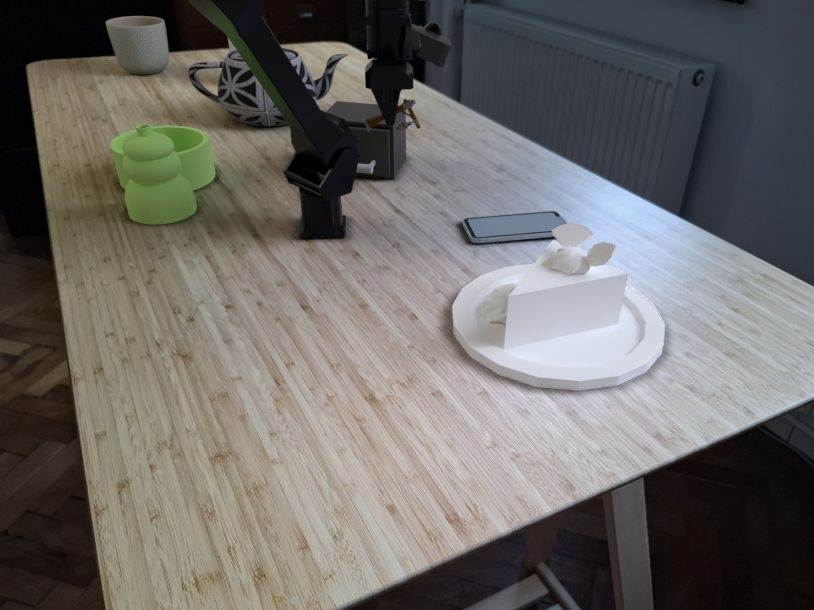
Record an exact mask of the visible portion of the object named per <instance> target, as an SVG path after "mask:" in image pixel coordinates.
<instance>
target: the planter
mask: <svg viewBox="0 0 814 610" xmlns="http://www.w3.org/2000/svg"><path fill="white" fill-rule="evenodd" d="M105 27H106V31H107V34H108V37H109V41H110V43H111V47H112V49H113V52H114V55H115V57H116V60H117V63H118V64H119V65H120V67H122V69H123V70H125V71H126V72H128V73H130V74H133V75H141V76H142V75H145V76H146V75H154V74H158V73H160V72H162V71H164V70H165V69H166V68H167V66H168V65H169V63H170V52H169V42H168V34H167V28H166V22H165V19H163V18H161V17H156V16H149V15H147V16H146V15H132V16H131V15H130V16H120V17H119V16H118V17H114V18H109V19H108V20H106V21H105Z"/></svg>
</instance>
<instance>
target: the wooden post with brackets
mask: <svg viewBox="0 0 814 610" xmlns="http://www.w3.org/2000/svg"><path fill="white" fill-rule="evenodd" d="M402 101H403V102H401V103H402V104H398V108H397V113H400V112H402V113H404V114H406V116H408V117H410V118H411V119H412V121H408V122H407V120H406V121H404V123H401V124H398V126H397V127H396V130H397V131H399V130H400V131H402V130H404V129H406V130H409V127H411V126H412V125H413V124H414V125H415V127H416V129H421V125H420V122H419V118H418V117H417V116H416V114H415V112H414V110H413V108H414V105H416V103H417V100H416V99H414V98H413V99H411V98H409V99H407V98H403V100H402ZM403 110H406V111H408V112H404V111H403ZM397 113H396V115H397ZM383 120H384V118H383V115H382V114H381V115H378V116H375V117H372V118H367V117H364V118H363V121H364V123H365V126H366V128H367V130H368V132H369V131H371V127H373V126H374V125H376V124H378V123H379V122H381V121H383Z"/></svg>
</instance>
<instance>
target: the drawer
mask: <svg viewBox="0 0 814 610" xmlns="http://www.w3.org/2000/svg"><path fill="white" fill-rule="evenodd" d="M349 128H350V130H351V133H352V134H353V136H354V137H355V138H356V139H358V140H359V143H356V145H357V147H358V149H359V152H360V158H359V159H358V166H357V170H356V174H359V175H370V176H381V177H390V175H391V161H390V128H382V127H371V131H369V132H368V130H367V128H366V126H358V125H349Z"/></svg>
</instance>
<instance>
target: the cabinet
mask: <svg viewBox="0 0 814 610" xmlns="http://www.w3.org/2000/svg"><path fill="white" fill-rule="evenodd" d="M403 111H404V112H406V111H407V110H403ZM325 112H328V113H330V114H333V115H336V116H338V117H341V118H344V119H345V120H346V122H347V123H348V125H358V126H365V123H364V121H363V118H364V117H367V118H372V117H375V116H378V115H381V114H382V113H381V111H380V108H379V106H378V104H377V103H367V102H366V103H365V102H354V101H353V102H352V101H341V100H336V101H335V102H334V103H333V104H332V105H331V106H330V107H329V108H328V109H327V110H326V111H325ZM406 113H407V112H406ZM404 121H406V122H407V115H406V114H404V113H402V112H400V113H397V115H396V118H395V124H394V125H393V126H388V125H386V122H385V120H383V121H381V122H379V123H378V124H376V125H374V126H373V127H382V128H390V161H391V175H390V177H381V176H370V175H359V174H356V175H355V177H360V178H370V179H371V178H372V179H383V180H396V178H397V175H398V174H399V173H400V170H401V168H402V167H403V165H404V163H405V161H406V159H407V129H404V130H402V131H400V130H399V131H397V130H396V127H397V126H398V124H401V123H404Z"/></svg>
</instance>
